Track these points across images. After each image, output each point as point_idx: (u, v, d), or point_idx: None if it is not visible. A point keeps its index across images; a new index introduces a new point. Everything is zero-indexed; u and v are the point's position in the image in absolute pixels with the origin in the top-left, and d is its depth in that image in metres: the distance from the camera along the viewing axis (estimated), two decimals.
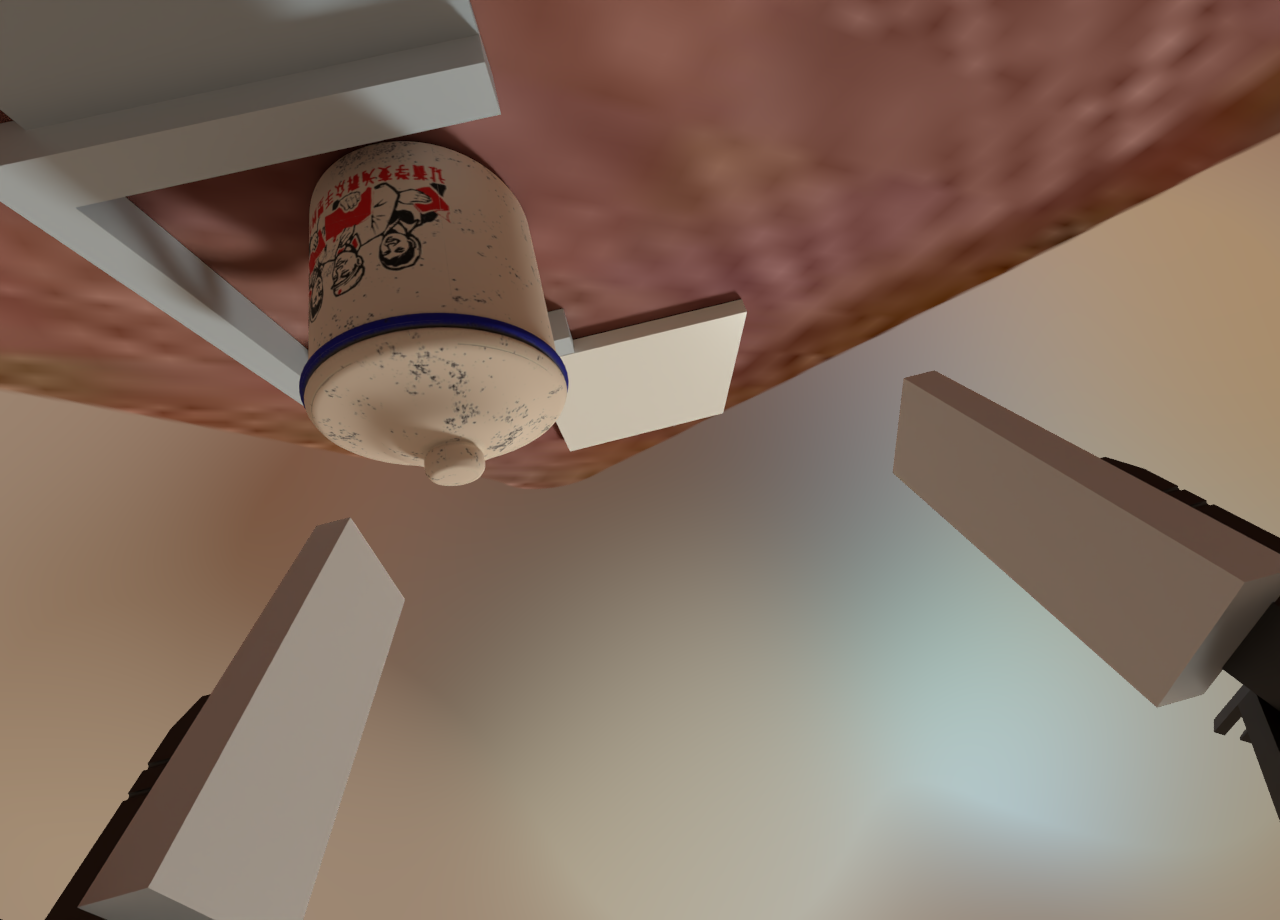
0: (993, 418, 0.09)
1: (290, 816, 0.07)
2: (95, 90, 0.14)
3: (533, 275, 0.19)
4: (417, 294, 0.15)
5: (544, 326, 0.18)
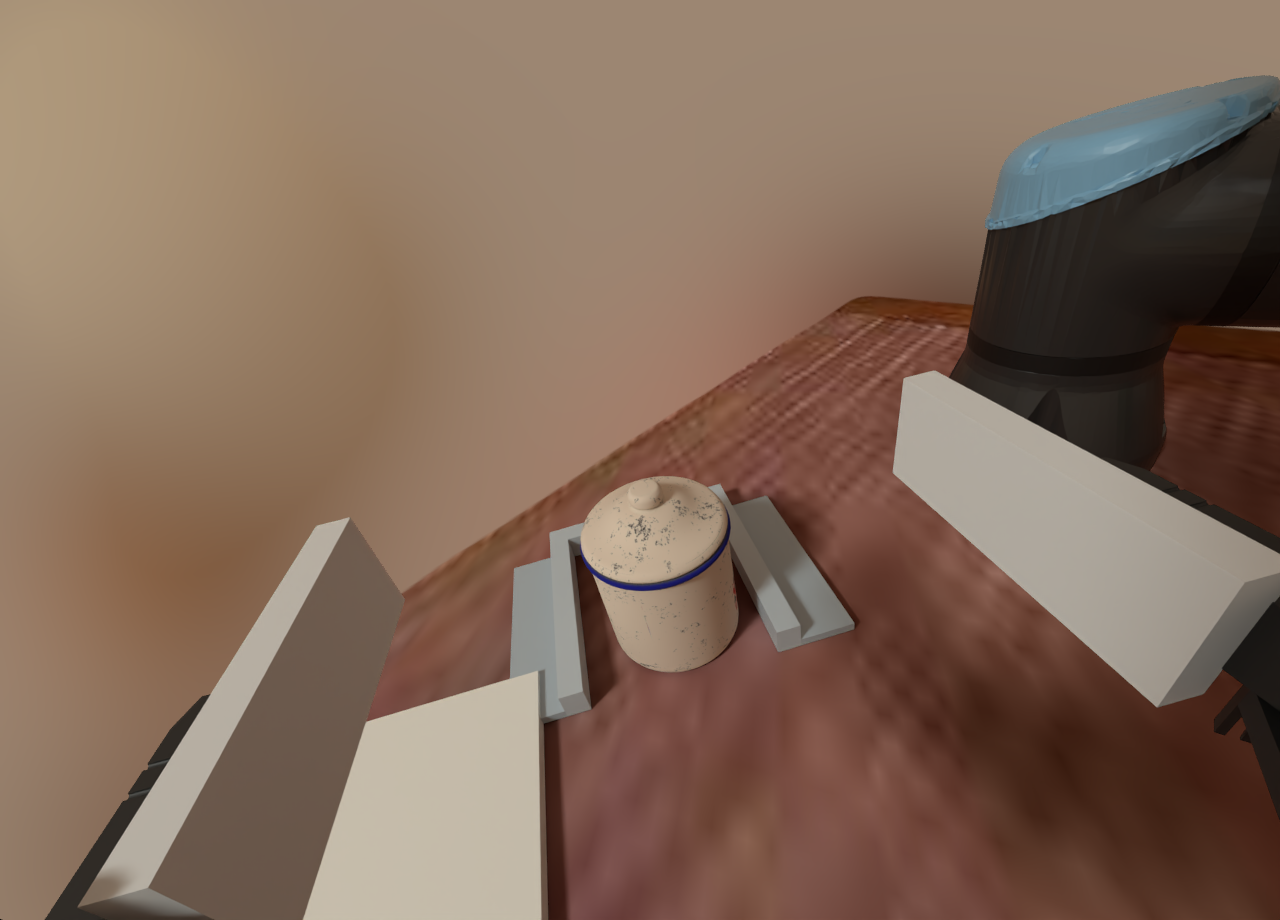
0: (993, 418, 0.09)
1: (290, 816, 0.07)
2: (744, 524, 0.39)
3: (698, 620, 0.28)
4: None
5: (692, 592, 0.27)
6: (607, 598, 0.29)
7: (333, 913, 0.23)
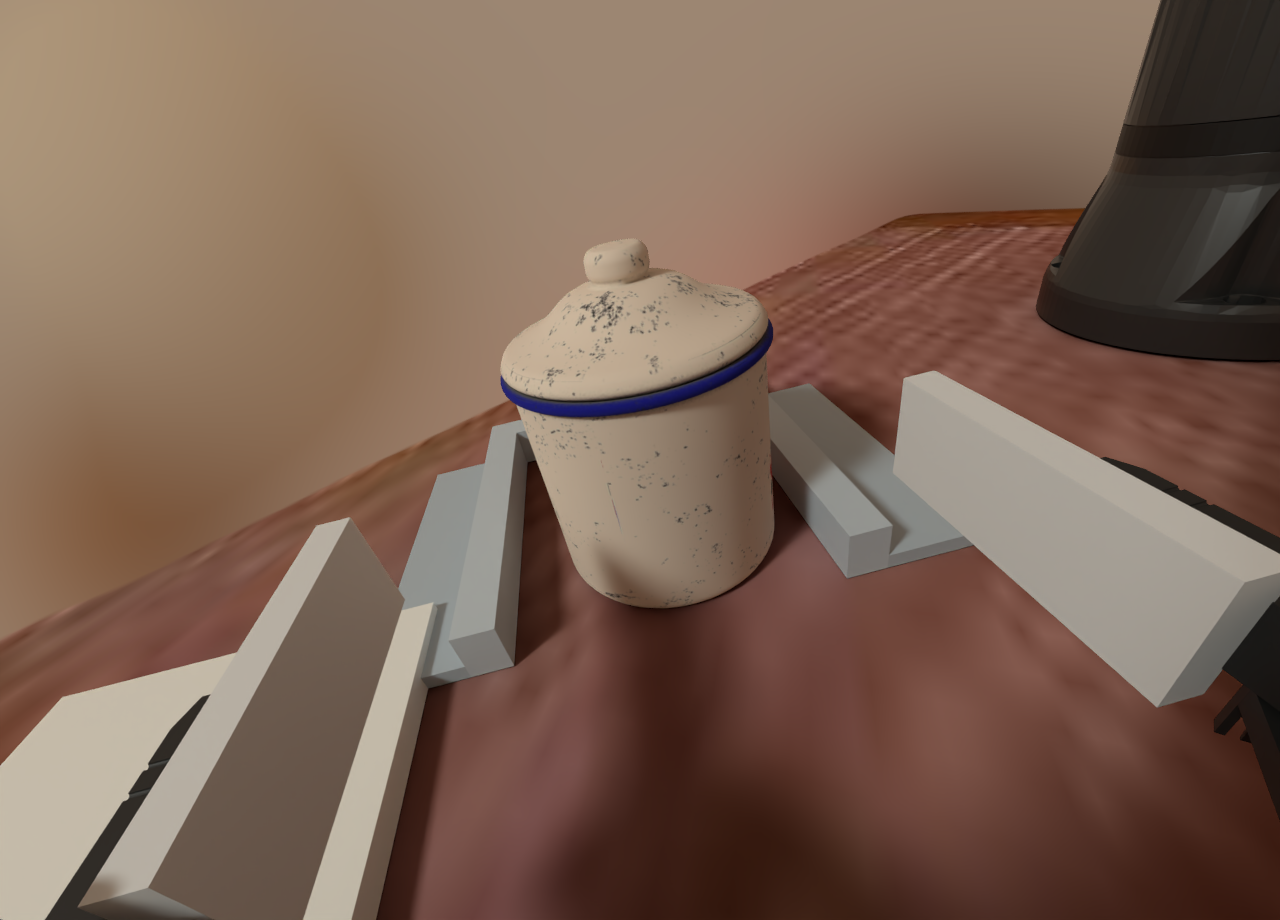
0: (993, 418, 0.09)
1: (290, 816, 0.07)
2: None
3: (709, 500, 0.15)
4: None
5: (699, 431, 0.14)
6: (544, 460, 0.16)
7: None
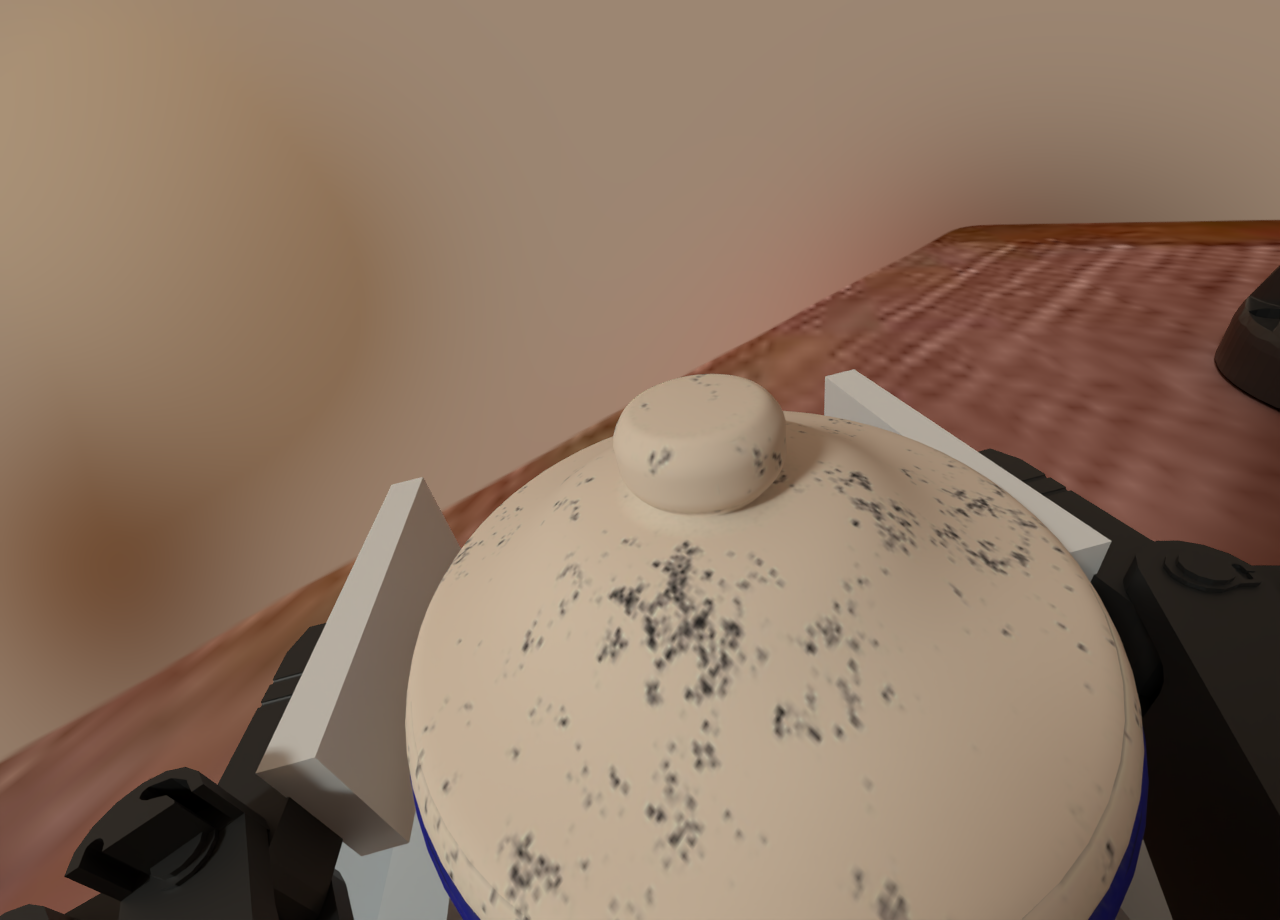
0: (893, 413, 0.10)
1: (400, 725, 0.08)
2: None
3: None
4: None
5: None
6: None
7: None
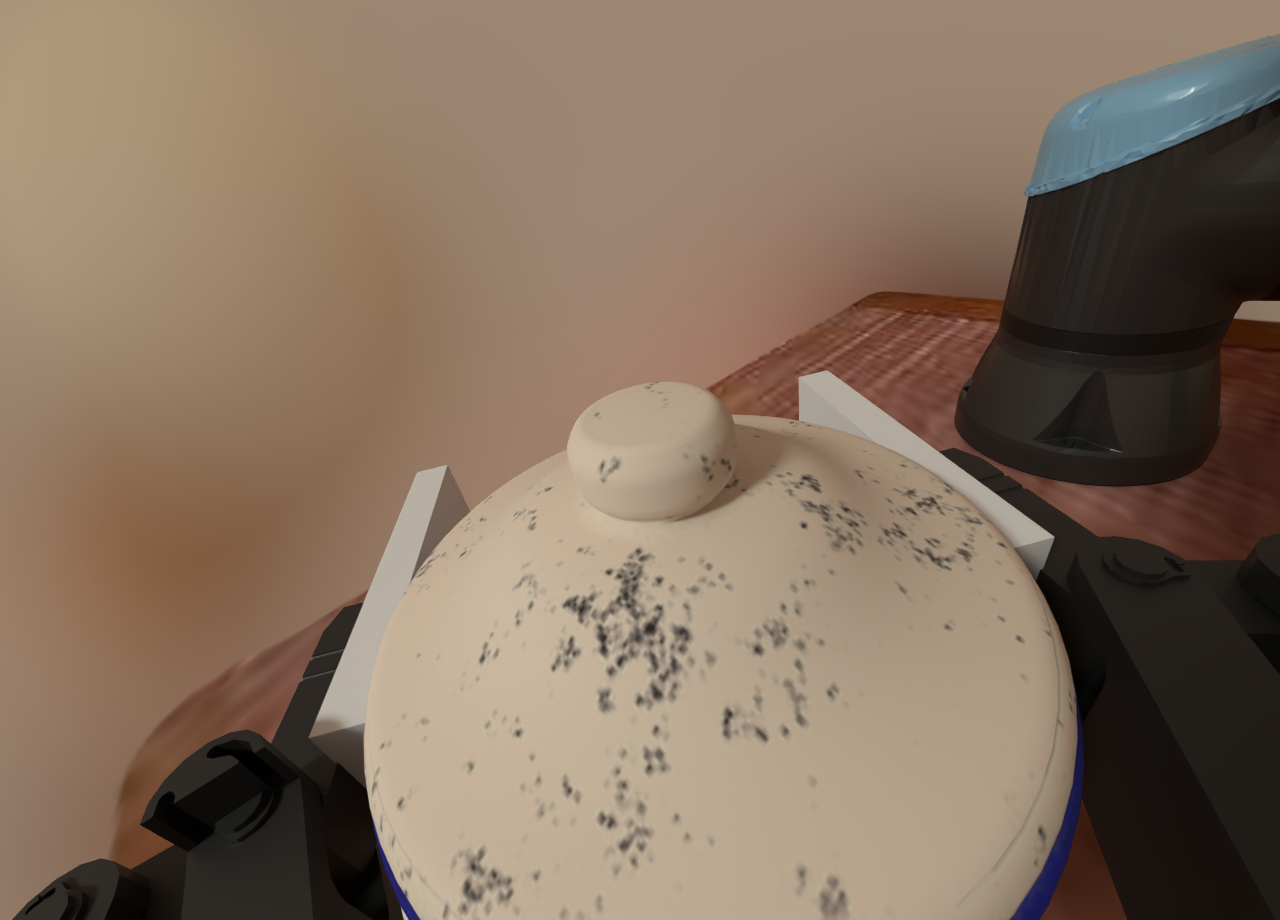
0: (860, 413, 0.10)
1: None
2: None
3: None
4: None
5: None
6: None
7: None
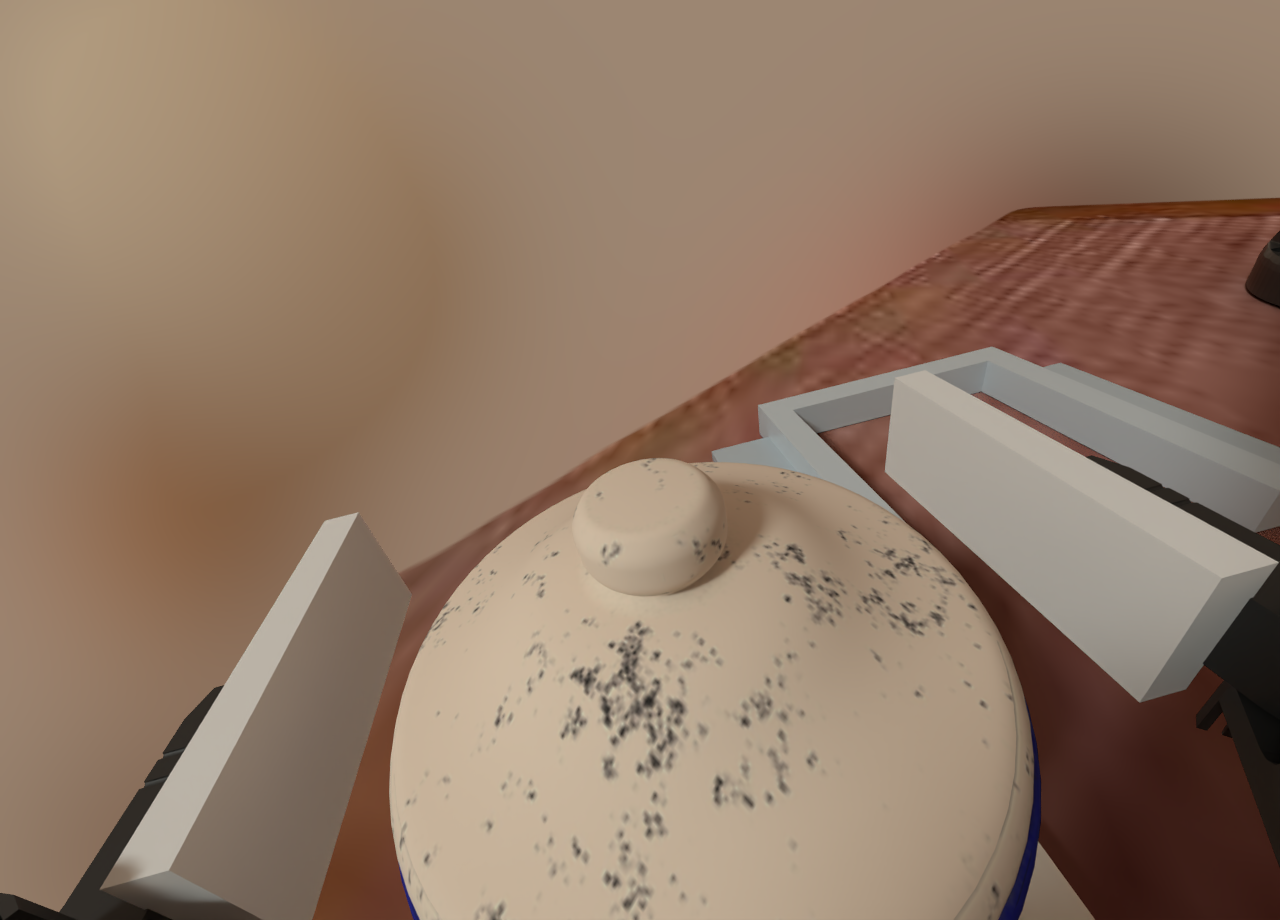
0: (982, 417, 0.09)
1: (303, 804, 0.07)
2: None
3: None
4: None
5: None
6: None
7: None
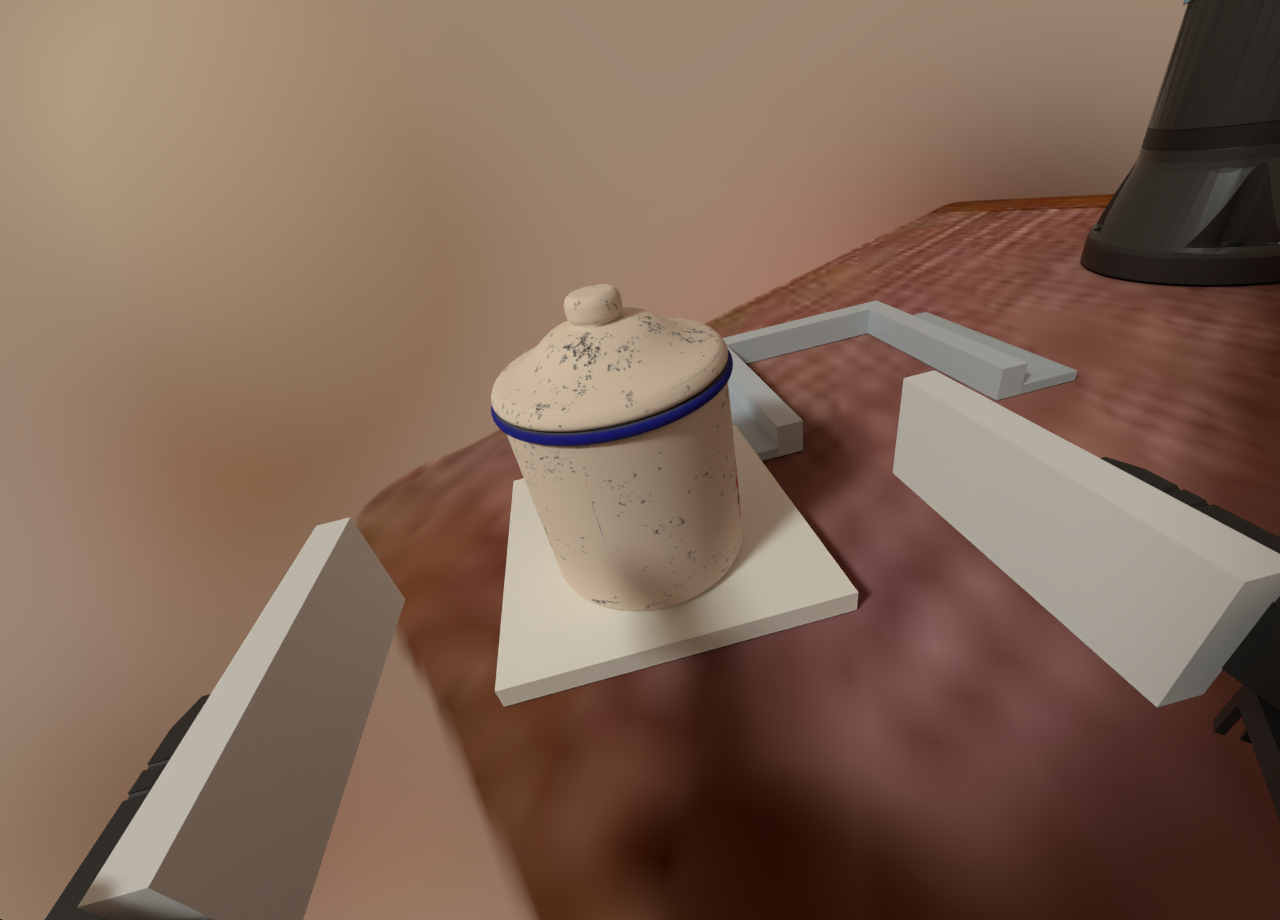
0: (993, 418, 0.09)
1: (290, 816, 0.07)
2: None
3: (682, 513, 0.17)
4: None
5: (671, 454, 0.16)
6: (533, 482, 0.17)
7: None
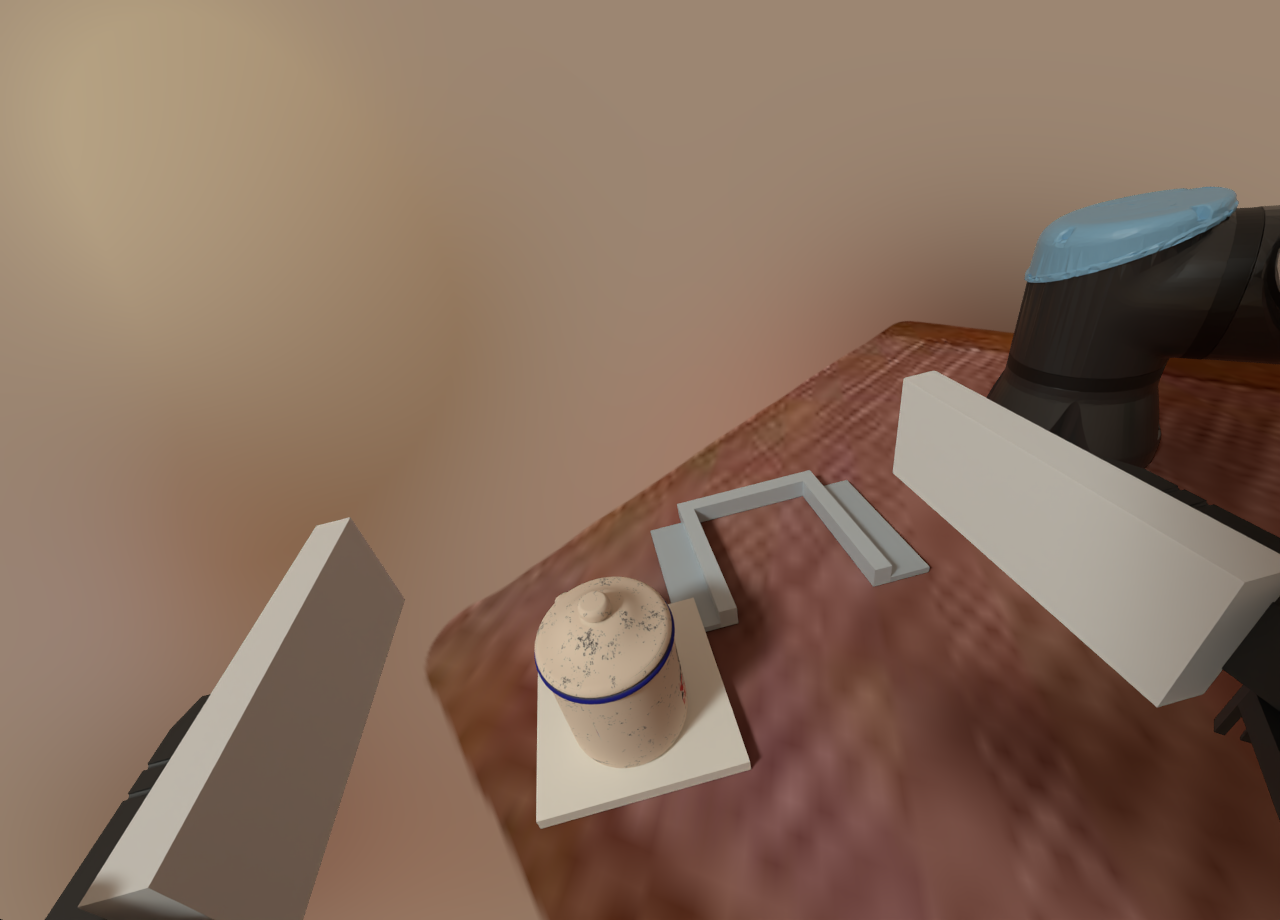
0: (993, 418, 0.09)
1: (290, 816, 0.07)
2: None
3: (644, 724, 0.30)
4: None
5: (637, 701, 0.28)
6: (559, 703, 0.30)
7: None
